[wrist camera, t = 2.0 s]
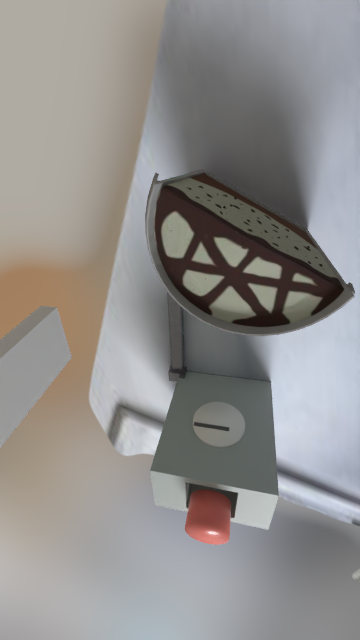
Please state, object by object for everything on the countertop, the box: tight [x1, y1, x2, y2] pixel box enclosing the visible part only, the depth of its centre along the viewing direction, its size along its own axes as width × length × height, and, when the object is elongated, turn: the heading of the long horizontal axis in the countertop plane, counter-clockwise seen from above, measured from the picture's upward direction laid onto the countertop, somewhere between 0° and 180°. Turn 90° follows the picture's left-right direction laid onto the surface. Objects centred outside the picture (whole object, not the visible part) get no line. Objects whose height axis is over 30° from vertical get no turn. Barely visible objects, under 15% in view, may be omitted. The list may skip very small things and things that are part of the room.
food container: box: [145, 170, 355, 336], centre depth 20 cm, size 12×6×10 cm, turn 64°
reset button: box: [185, 489, 231, 544], centre depth 23 cm, size 3×3×2 cm
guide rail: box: [167, 291, 187, 381], centre depth 29 cm, size 2×17×1 cm, turn 2°
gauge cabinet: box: [150, 371, 279, 529], centre depth 29 cm, size 10×6×12 cm, turn 91°
